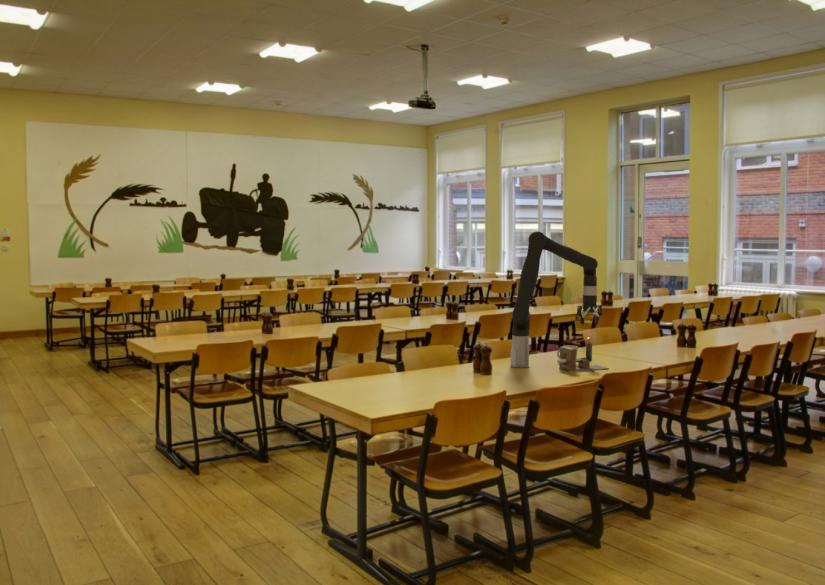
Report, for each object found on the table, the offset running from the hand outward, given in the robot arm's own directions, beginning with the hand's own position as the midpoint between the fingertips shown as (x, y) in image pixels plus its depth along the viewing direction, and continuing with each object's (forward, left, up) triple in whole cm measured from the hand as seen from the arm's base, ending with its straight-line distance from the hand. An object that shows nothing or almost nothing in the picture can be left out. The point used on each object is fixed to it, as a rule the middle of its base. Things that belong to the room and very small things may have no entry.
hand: (589, 324), depth 392 cm
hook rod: (-9, -1, -20) cm, 22 cm away
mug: (-4, +17, -24) cm, 30 cm away
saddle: (-4, -1, -24) cm, 24 cm away
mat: (-4, -1, -24) cm, 24 cm away
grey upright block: (-14, -1, -24) cm, 28 cm away
